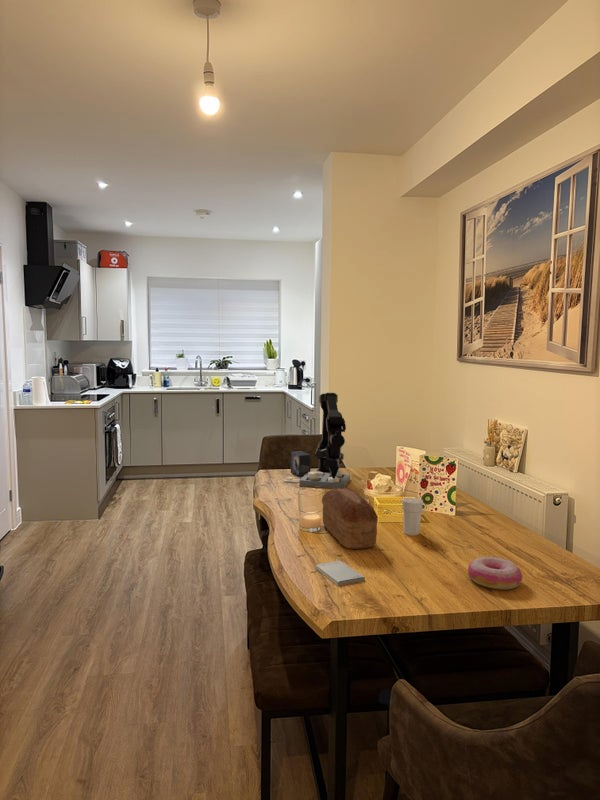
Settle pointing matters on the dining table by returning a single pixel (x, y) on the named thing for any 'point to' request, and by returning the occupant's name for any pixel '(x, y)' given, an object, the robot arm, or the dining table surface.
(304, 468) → the small box
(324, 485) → the board
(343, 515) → the bread
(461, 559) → the dining table surface
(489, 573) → the donut
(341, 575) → the hard drive
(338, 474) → the button
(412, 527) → the cup
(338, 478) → the button
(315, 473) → the button
